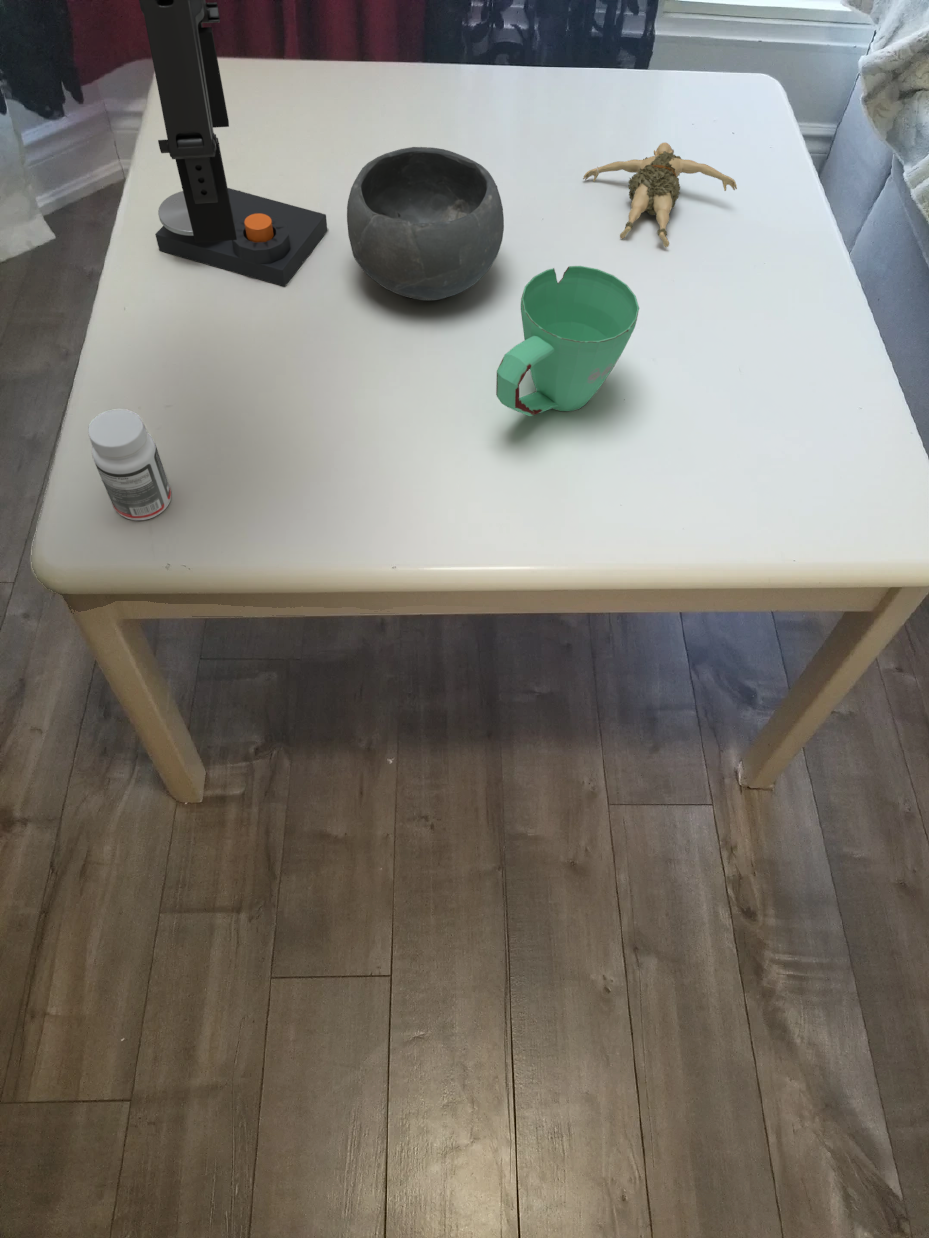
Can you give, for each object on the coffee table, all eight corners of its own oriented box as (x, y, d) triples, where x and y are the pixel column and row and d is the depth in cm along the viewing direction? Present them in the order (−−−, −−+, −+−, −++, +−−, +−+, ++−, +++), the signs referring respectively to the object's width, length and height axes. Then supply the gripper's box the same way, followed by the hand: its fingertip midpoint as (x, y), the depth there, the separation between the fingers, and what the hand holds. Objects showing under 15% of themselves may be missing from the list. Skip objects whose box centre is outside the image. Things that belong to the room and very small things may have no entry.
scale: (327, 231, 96) (325, 200, 93) (283, 288, 90) (279, 257, 87) (207, 198, 98) (201, 166, 95) (158, 252, 92) (149, 221, 89)
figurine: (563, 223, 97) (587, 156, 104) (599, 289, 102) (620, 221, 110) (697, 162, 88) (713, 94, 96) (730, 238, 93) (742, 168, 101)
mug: (553, 341, 88) (568, 250, 79) (637, 391, 85) (662, 301, 76) (454, 422, 81) (459, 332, 73) (541, 479, 78) (557, 391, 70)
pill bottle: (131, 471, 76) (103, 397, 69) (182, 486, 76) (159, 413, 69) (101, 513, 74) (69, 439, 67) (154, 528, 73) (127, 456, 66)
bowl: (481, 338, 88) (489, 246, 79) (332, 310, 89) (323, 216, 80) (511, 247, 96) (520, 154, 87) (373, 222, 97) (370, 128, 88)
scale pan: (161, 239, 88) (160, 234, 87) (157, 197, 92) (155, 192, 91) (235, 232, 89) (234, 227, 89) (227, 190, 93) (227, 186, 92)
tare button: (278, 231, 90) (276, 217, 89) (266, 246, 89) (263, 232, 87) (254, 225, 90) (252, 210, 89) (242, 239, 89) (239, 225, 88)
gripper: (213, -116, 40) (278, 288, 58) (201, -292, 53) (257, 82, 71) (36, -112, 39) (157, 298, 57) (68, -292, 52) (158, 87, 70)
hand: (213, 179), depth 64 cm, fingers open, 13 cm apart
